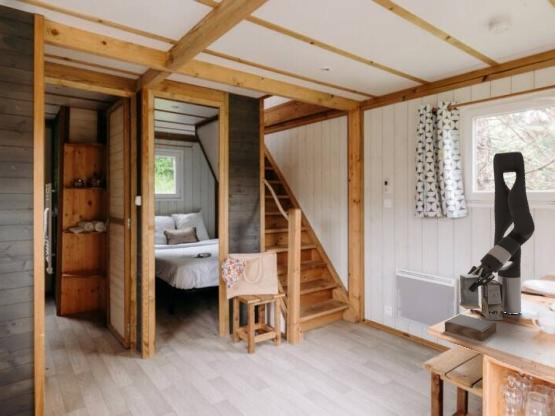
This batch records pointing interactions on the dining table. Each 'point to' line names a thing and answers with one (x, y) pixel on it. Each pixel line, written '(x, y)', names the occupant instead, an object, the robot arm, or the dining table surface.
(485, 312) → the coffee box
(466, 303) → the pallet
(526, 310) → the dining table surface
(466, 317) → the plate
